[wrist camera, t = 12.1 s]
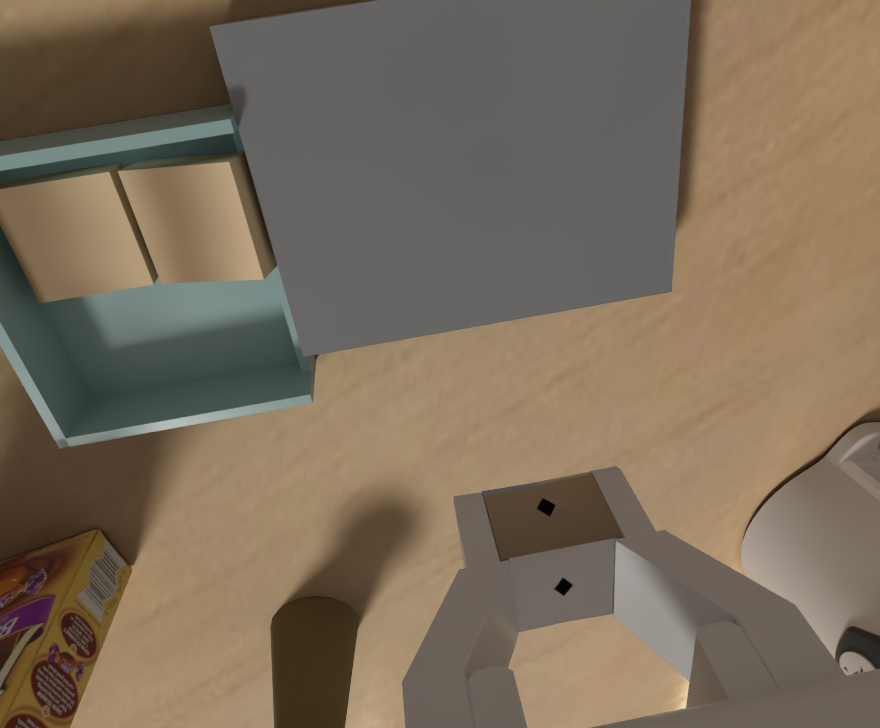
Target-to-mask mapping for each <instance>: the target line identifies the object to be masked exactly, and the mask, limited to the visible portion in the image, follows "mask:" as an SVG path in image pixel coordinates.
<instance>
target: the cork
mask: <svg viewBox="0 0 880 728" xmlns="http://www.w3.org/2000/svg"><path fill="white" fill-rule="evenodd" d="M357 630H358V620H357V615H356V614H355V612H354V611H353V610H352V608H351V607H349V606H348V605H346V604H345V603H343V602H342V601H338V600H335V599H332V598H327V597H308V598H301V599H299V600H296V601H293V602H290V603H288V604H287V605H285V606H284V607H282V608H281V609H279V610H278V612H277V613H276V614H275V616H274V617H273V618H272V623H271V653H272V680H273V706H274V728H345V722H346V714H347V707H348V699H349V691H350V684H351V676H352V668H353V661H354V653H355V645H356V638H357Z"/></svg>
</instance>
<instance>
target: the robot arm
mask: <svg viewBox="0 0 880 728" xmlns="http://www.w3.org/2000/svg"><path fill="white" fill-rule="evenodd" d="M454 507H455V513H456V519H457V525H458V532H459V538H460V544H461V550H462V556H463V562H464V569H459V571H458V573H457V575H456V577H455V579H454V581H453V583H452V585H451V587H450V589H449V591H448V593H447V595H446V597H445V599H444V601H443V603H442V605H441V607H440V608H439V610H438V612H437V614H436V616H435V618H434V620H433V622H432V624H431V626H430V628H429V630H428V632H427V634H426V636H425V638H424V640H423V642H422V644H421V646H420V648H419V650H418V652H417V654H416V656H415V658H414V660H413V662H412V664H411V666H410V668H409V670H408V672H407V674H406V676H405V677H404V679H403V681H402V686H403V699H404V713H405V727H406V728H527V725H526V721H525V717H524V713H523V709H522V705H521V701H520V697H519V693H518V690H517V686H516V682H515V678H514V674H513V671H512V670H510V669H508V666H509V663H510V660H511V656H512V653H513V650H514V647H515V644H516V641H517V638H518V632H522V631H527V630H531V629H536V628H540V627H544V626H549V625H553V624H558V623H562V622H567V621H573V620H579V619H585V618H591V617H597V616H603V615H609V614H614V617H615V618H617V619H618V620H619V621H620V622H621V623H622V624H624V625H625V626H626V627H627V628H628V629H629V630H630V631H632V632H633V633H634V634H635V635H636V636H637V637H639V638H640V639H641V640H642V641H643V642H644V643H646V644H647V645H648V646H649V647H650V648H651V649H652V650H654V651H655V652H656V653H657V654H658V655H659V656H661V657H662V658H663V659H664V660H665V661H666V662H667V663H669V664H670V665H671V666H672V667H673V668H674V669H676V670H677V671H678V672H679V673H680V674H681V675H683V676H684V677H685V678H686V679H687V680H688V681H689V682H690V683H689V690H688V698H687V705H686V708H685V709H680V710H676V711H671V712H666V713H661V714H656V715H651V716H646V717H641V718H636V719H631V720H626V721H621V722H616V723H612V724H607V725H602V726H597V727H592V728H880V422H872V423H864V424H861V425H858V426H856V427H855V428H853V429H852V430H850V431H849V432H848V433H847V434H846V435H844V436H843V437H842V438H841V439H840V440H839V441H838V443H837V444H836V445H835V446H834V447H833V448H832V449H831V450H830V451H829V452H828V454H827V455H826V456H825V457H824V458H823V459H821V460H820V461H819V462H817V463H816V464H815V465H813V466H812V467H810V468H809V469H807V470H805V471H804V472H802V473H801V474H799V475H798V476H796V477H795V478H793V479H792V480H791V481H789V482H788V483H787V484H785V485H784V486H783V487H782V488H781V489H779V490H778V491H777V492H776V493H775V494H774V495H773V496H772V497H771V498H770V499H769V500H768V501H767V502H766V503H765V504H764V505H763V506H762V508H761V509H760V510H759V511H758V513H757V514H756V515H755V517H754V518H753V520H752V522H751V523H750V525H749V527H748V529H747V531H746V534H745V536H744V539H743V543H742V548H741V562H742V566H743V569H744V571H745V573H746V575H747V577H748V578H747V577H746V576H744V575H742V574H740V573H739V572H737V571H735V570H733V569H732V568H730V567H728V566H726V565H725V564H723V563H721V562H719V561H718V560H716V559H714V558H712V557H711V556H709V555H707V554H705V553H704V552H702V551H700V550H698V549H697V548H695V547H693V546H691V545H690V544H688V543H686V542H684V541H683V540H681V539H679V538H677V537H676V536H674V535H672V534H670V533H669V532H667V531H665V530H662V531H657V532H656V530H655V529H654V527H653V525H652V523H651V522H650V520H649V518H648V516H647V515H646V513H645V511H644V509H643V508H642V506H641V504H640V502H639V501H638V499H637V497H636V495H635V494H634V492H633V490H632V488H631V487H630V485H629V483H628V481H627V480H626V478H625V476H624V474H623V473H622V471H621V469H619V468H618V467H617V466H615V467H610V468H605V469H600V470H595V471H590V472H589V473H587V472H586V473H581V474H576V475H570V476H565V477H560V478H555V479H550V480H545V481H540V482H535V483H530V484H524V485H518V486H512V487H506V488H500V489H494V490H487V491H482V494H481V492H480V493H473V494H467V495H460V496H454Z"/></svg>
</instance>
